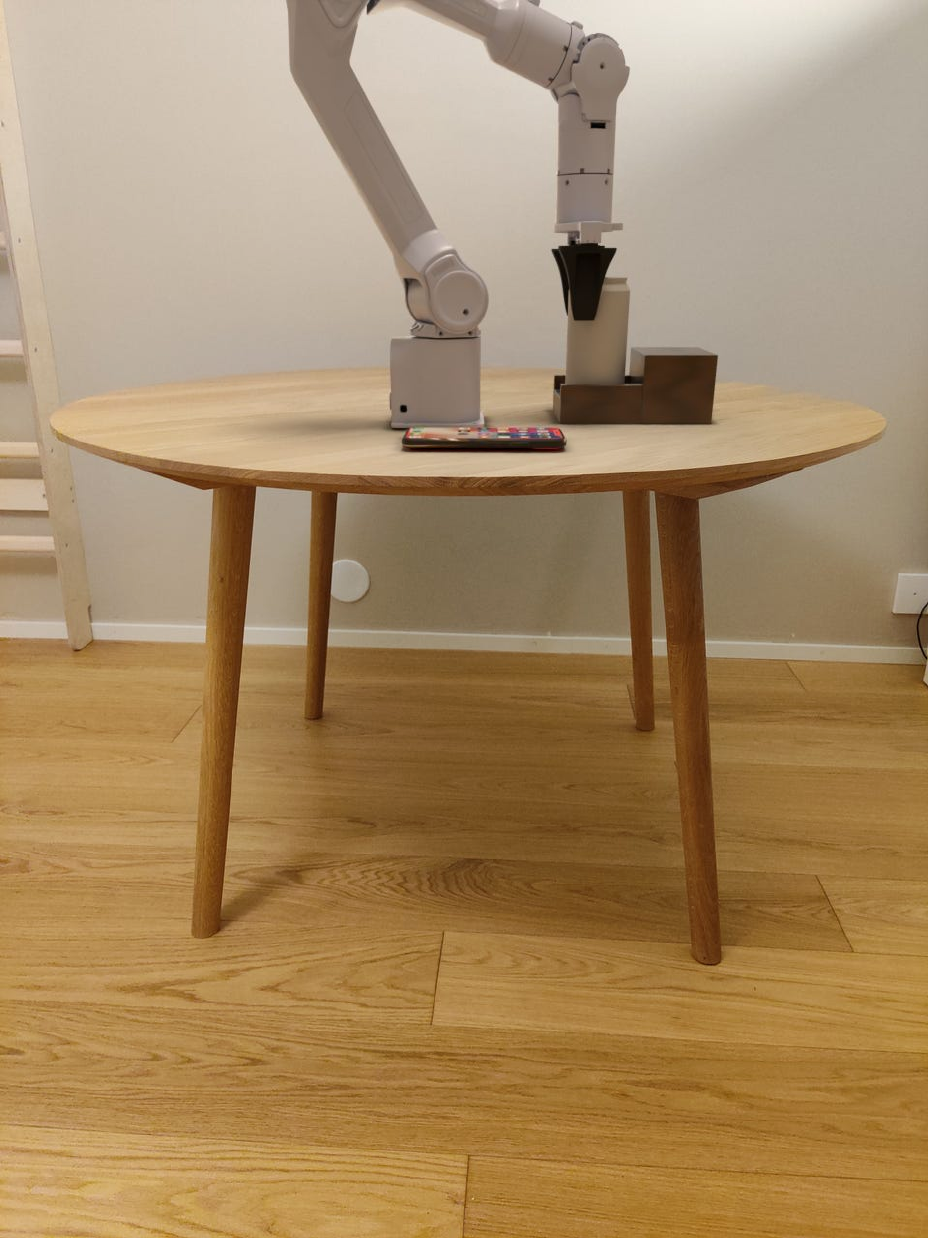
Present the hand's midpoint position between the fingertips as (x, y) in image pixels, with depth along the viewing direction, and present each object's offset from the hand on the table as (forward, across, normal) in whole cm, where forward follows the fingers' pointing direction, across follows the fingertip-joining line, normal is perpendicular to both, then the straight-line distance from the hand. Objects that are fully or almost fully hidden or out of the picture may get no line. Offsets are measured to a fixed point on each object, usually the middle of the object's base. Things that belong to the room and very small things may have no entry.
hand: (580, 317), depth 98 cm
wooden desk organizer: (+10, 0, -6) cm, 12 cm away
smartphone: (+10, -16, +10) cm, 22 cm away
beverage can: (+8, 0, -2) cm, 8 cm away
